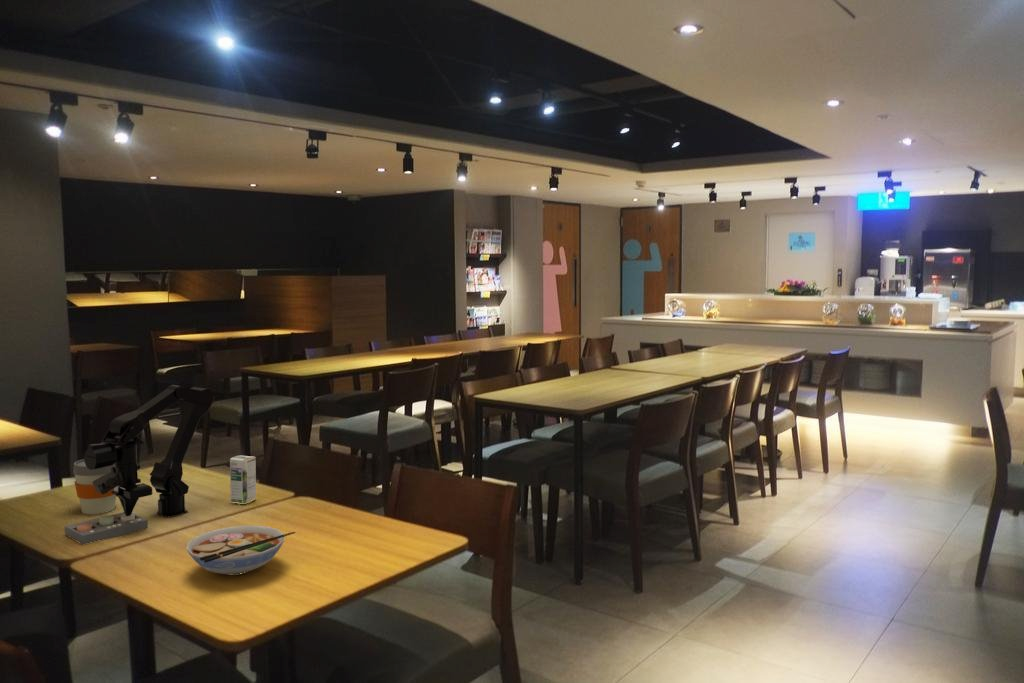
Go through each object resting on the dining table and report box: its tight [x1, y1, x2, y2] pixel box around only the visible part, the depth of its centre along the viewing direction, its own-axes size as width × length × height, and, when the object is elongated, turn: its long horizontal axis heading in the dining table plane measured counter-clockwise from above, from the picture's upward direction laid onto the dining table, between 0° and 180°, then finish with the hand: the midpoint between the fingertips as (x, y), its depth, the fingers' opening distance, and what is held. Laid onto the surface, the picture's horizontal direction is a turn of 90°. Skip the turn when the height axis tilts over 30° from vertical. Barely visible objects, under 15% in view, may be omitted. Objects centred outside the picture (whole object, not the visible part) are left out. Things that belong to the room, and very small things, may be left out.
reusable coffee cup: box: [72, 458, 117, 515], centre depth 234 cm, size 13×13×15 cm
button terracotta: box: [77, 524, 92, 532], centre depth 211 cm, size 4×4×3 cm
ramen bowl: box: [185, 524, 296, 575], centre depth 189 cm, size 25×23×8 cm
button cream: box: [121, 513, 136, 521], centre depth 220 cm, size 4×4×3 cm
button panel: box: [64, 511, 149, 545], centre depth 215 cm, size 17×12×3 cm
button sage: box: [98, 515, 114, 527], centre depth 215 cm, size 4×4×3 cm
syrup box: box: [229, 454, 257, 503], centre depth 243 cm, size 6×6×14 cm
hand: (128, 515), depth 220 cm, fingers closed, pressing on button cream
